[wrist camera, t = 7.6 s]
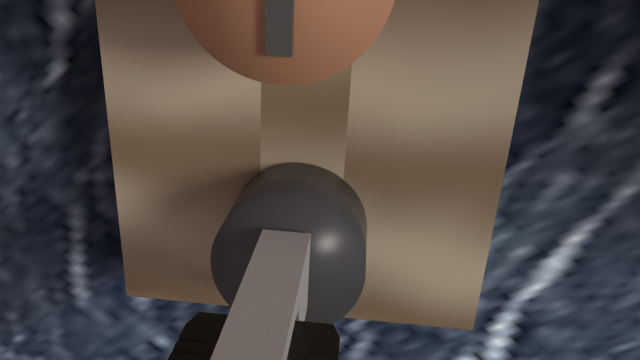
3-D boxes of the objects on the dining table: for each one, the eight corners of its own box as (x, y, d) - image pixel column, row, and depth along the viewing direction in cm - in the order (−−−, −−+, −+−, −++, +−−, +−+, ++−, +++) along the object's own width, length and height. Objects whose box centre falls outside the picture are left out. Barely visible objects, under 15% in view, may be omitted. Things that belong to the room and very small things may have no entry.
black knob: (363, 238, 24) (359, 340, 18) (254, 228, 25) (212, 325, 18) (373, 133, 22) (372, 205, 16) (255, 124, 23) (208, 191, 16)
